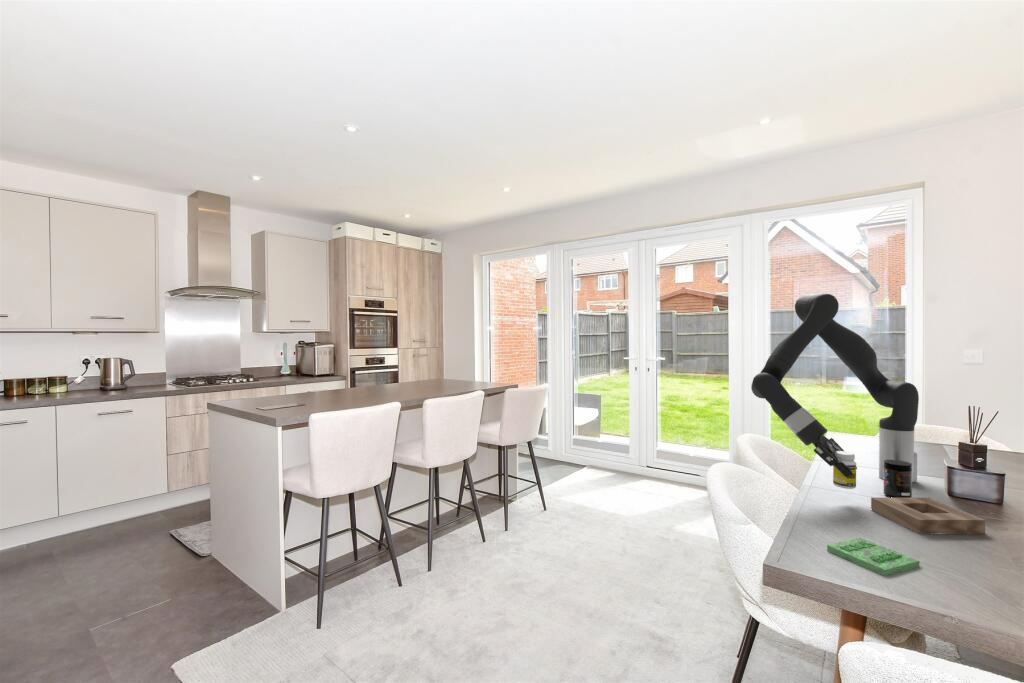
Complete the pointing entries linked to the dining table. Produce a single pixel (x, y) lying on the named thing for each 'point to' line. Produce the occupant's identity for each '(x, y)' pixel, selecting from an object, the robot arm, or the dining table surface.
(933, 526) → the walnut pocket block
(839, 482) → the supplement bottle
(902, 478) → the supplement container
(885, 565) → the green jade tablet
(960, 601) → the dining table surface
